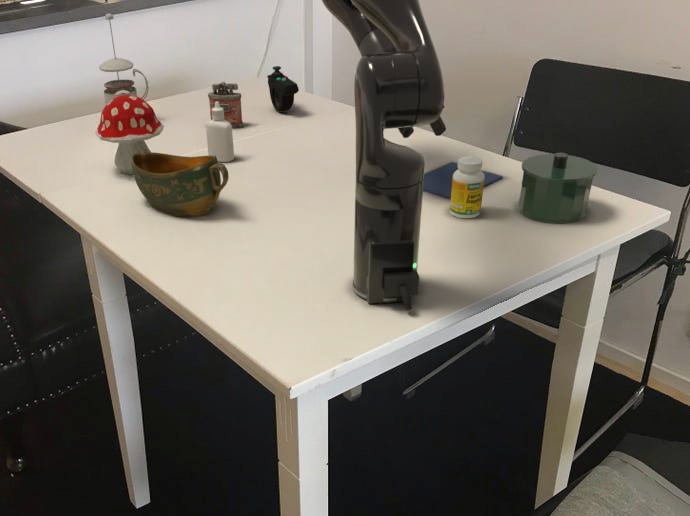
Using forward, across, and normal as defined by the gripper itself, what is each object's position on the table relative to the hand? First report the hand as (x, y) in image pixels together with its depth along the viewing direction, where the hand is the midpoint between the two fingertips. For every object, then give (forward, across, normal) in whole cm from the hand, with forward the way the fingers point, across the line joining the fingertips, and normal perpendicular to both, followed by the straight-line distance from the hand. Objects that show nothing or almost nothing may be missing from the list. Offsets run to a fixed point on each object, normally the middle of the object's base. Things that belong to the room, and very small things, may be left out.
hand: (425, 134), depth 136 cm
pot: (+21, +13, -6) cm, 26 cm away
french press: (-51, -15, +63) cm, 83 cm away
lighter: (-38, +1, +49) cm, 62 cm away
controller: (-40, +17, +46) cm, 63 cm away
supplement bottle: (+16, +2, +2) cm, 16 cm away
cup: (-8, -33, +31) cm, 46 cm away
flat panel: (+6, +12, +8) cm, 15 cm away
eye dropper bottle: (-23, -13, +39) cm, 47 cm away
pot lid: (+16, +12, -12) cm, 23 cm away
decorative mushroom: (-27, -29, +46) cm, 61 cm away
